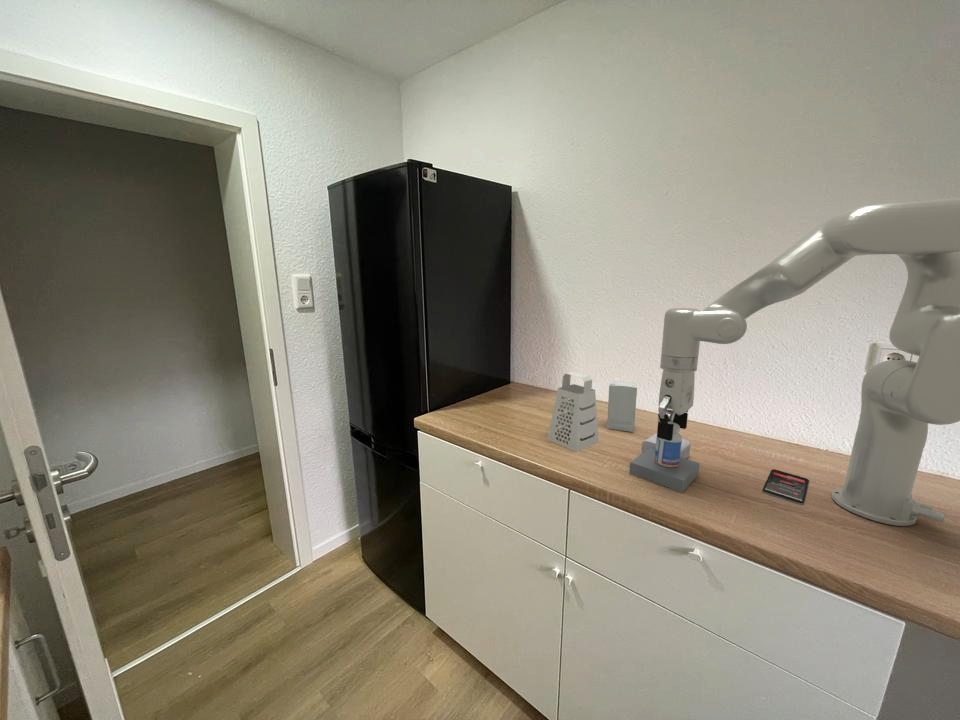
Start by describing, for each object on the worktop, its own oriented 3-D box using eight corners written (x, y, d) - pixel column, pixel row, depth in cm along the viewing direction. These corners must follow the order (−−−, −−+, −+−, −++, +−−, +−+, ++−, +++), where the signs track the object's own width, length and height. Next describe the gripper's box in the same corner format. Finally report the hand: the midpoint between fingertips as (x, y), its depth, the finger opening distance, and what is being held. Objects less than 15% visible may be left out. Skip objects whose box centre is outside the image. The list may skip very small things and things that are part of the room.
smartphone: (809, 479, 92) (803, 504, 81) (809, 481, 92) (802, 507, 81) (771, 468, 97) (761, 491, 86) (771, 471, 97) (761, 493, 86)
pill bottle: (683, 464, 92) (688, 426, 90) (670, 470, 89) (675, 430, 87) (662, 455, 97) (667, 419, 95) (649, 460, 94) (653, 423, 92)
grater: (576, 451, 105) (581, 381, 101) (547, 439, 113) (550, 373, 109) (598, 442, 111) (604, 375, 107) (569, 430, 119) (573, 368, 115)
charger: (696, 450, 107) (676, 468, 97) (662, 440, 114) (640, 456, 103) (698, 435, 106) (679, 451, 96) (664, 425, 113) (642, 439, 102)
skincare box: (634, 426, 124) (638, 382, 121) (633, 433, 118) (638, 387, 115) (607, 422, 127) (611, 379, 124) (605, 428, 121) (609, 383, 118)
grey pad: (698, 474, 94) (700, 463, 93) (681, 492, 85) (683, 480, 85) (648, 458, 102) (649, 447, 101) (629, 473, 93) (630, 462, 93)
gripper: (683, 371, 79) (676, 448, 82) (708, 359, 91) (700, 427, 95) (646, 366, 84) (641, 439, 88) (674, 355, 96) (668, 419, 100)
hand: (671, 432), depth 91 cm, fingers open, 9 cm apart
